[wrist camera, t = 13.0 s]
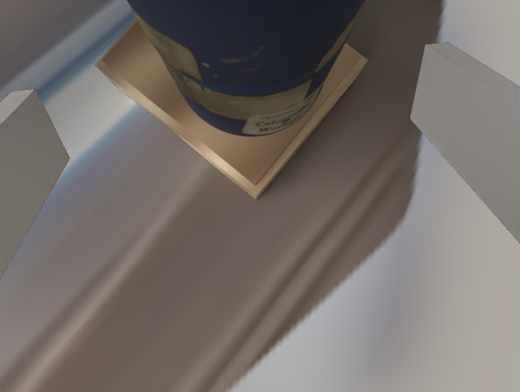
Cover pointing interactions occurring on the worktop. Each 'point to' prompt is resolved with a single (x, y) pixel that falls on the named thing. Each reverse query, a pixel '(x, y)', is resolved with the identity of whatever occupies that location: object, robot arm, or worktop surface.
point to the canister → (248, 55)
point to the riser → (206, 136)
